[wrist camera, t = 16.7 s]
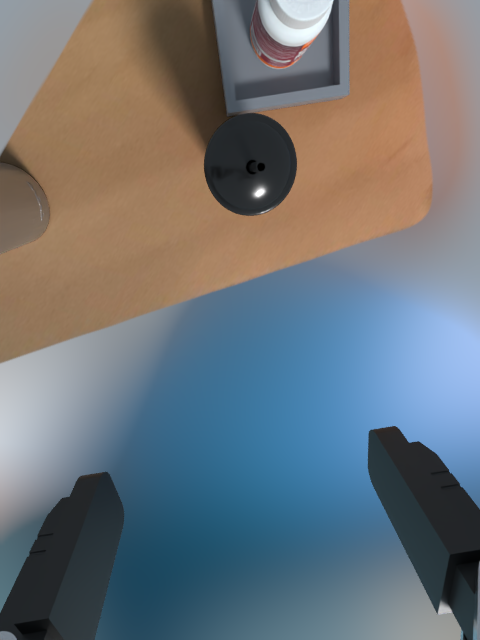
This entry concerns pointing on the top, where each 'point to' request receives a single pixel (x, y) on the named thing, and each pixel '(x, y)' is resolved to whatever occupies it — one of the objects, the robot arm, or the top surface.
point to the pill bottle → (286, 29)
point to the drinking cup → (250, 164)
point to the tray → (279, 84)
